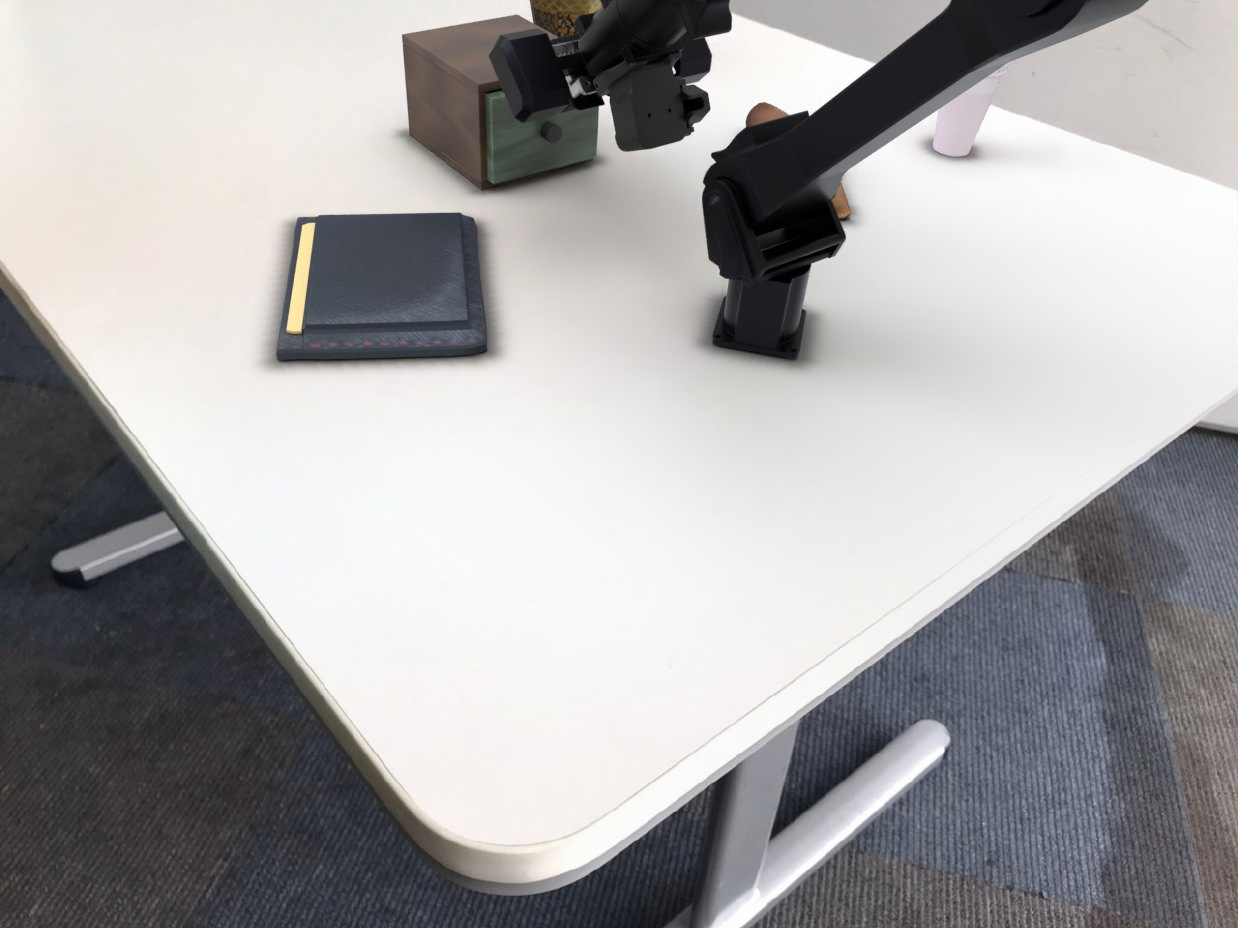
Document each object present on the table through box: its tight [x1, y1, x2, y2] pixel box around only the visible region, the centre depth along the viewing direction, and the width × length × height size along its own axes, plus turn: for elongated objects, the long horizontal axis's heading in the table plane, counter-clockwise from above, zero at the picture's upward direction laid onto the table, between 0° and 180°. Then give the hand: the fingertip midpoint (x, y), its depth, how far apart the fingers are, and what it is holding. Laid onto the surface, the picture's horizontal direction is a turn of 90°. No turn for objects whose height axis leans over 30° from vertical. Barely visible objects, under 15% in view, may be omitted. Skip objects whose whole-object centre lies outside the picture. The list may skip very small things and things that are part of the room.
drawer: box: [485, 89, 600, 184], centre depth 95 cm, size 14×11×8 cm
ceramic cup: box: [529, 0, 602, 40], centre depth 117 cm, size 13×10×10 cm
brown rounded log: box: [745, 101, 852, 220], centre depth 97 cm, size 18×7×7 cm
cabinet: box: [401, 14, 595, 191], centre depth 96 cm, size 14×13×10 cm
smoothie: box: [932, 62, 1011, 158], centre depth 101 cm, size 6×6×14 cm
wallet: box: [275, 212, 488, 361], centre depth 79 cm, size 20×2×15 cm
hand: (562, 107), depth 88 cm, fingers closed
